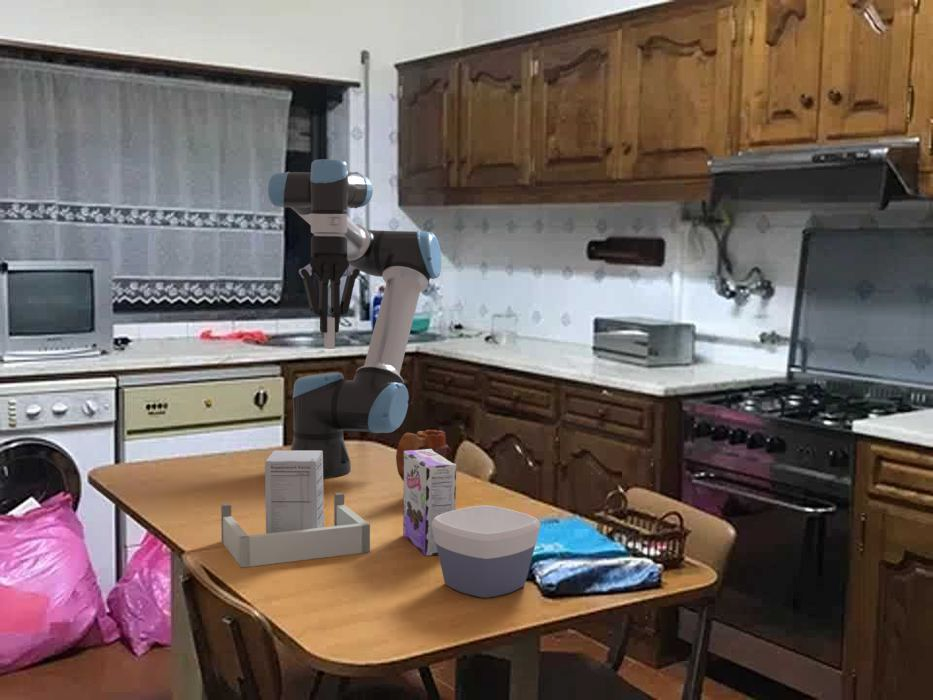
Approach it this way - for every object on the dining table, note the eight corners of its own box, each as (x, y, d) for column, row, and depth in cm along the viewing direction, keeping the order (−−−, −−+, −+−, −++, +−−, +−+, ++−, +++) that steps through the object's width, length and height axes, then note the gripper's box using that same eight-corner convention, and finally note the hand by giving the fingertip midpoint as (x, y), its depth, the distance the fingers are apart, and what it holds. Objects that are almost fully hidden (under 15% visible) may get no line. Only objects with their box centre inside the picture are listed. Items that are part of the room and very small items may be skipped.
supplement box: (325, 538, 194) (325, 449, 192) (318, 554, 185) (318, 460, 183) (273, 538, 194) (273, 449, 192) (264, 553, 185) (263, 460, 183)
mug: (430, 489, 231) (430, 423, 230) (458, 496, 226) (459, 428, 224) (384, 502, 220) (384, 432, 218) (412, 509, 215) (413, 437, 213)
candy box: (401, 535, 197) (402, 449, 195) (431, 532, 199) (432, 447, 197) (424, 556, 184) (425, 465, 182) (456, 553, 186) (457, 463, 184)
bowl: (418, 584, 170) (418, 517, 169) (484, 564, 181) (485, 501, 179) (485, 609, 159) (486, 538, 158) (551, 586, 170) (553, 519, 168)
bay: (221, 541, 191) (221, 503, 190) (341, 527, 201) (341, 492, 200) (241, 567, 177) (240, 527, 176) (369, 551, 186) (370, 513, 185)
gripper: (303, 235, 210) (304, 351, 213) (364, 235, 216) (364, 348, 218) (293, 234, 217) (294, 347, 220) (353, 235, 222) (353, 345, 225)
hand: (329, 347), depth 219 cm, fingers closed
